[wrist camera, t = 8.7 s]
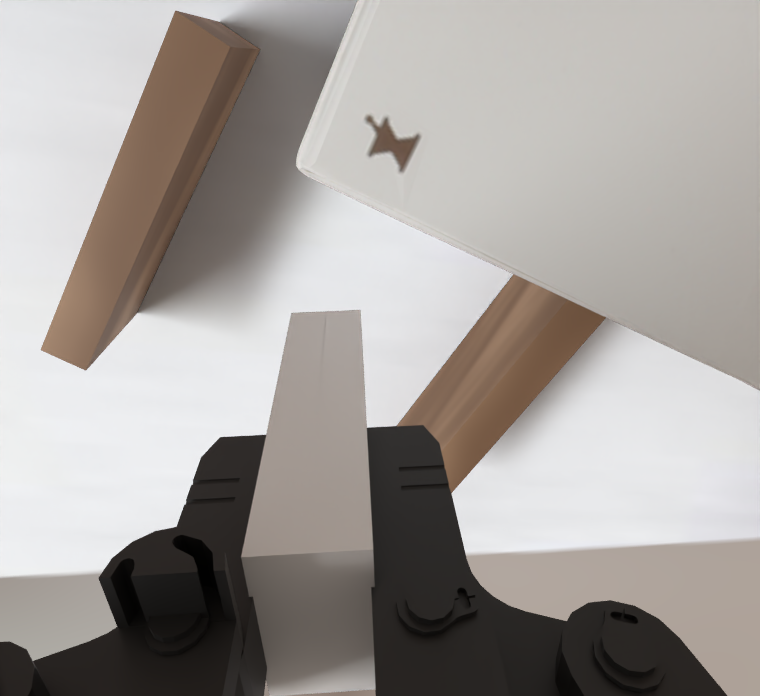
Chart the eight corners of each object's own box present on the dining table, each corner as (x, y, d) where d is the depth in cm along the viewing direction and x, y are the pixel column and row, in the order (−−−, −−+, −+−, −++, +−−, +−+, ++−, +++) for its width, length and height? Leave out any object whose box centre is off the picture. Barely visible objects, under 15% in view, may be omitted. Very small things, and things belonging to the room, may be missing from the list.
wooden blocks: (100, 295, 24) (40, 350, 19) (218, 21, 19) (175, 10, 15) (414, 451, 28) (423, 524, 24) (570, 257, 24) (619, 303, 19)
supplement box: (530, 208, 23) (768, 421, 9) (329, 102, 21) (267, 182, 7) (678, -31, 19) (1410, -238, 6) (450, -189, 17) (767, -1084, 4)
